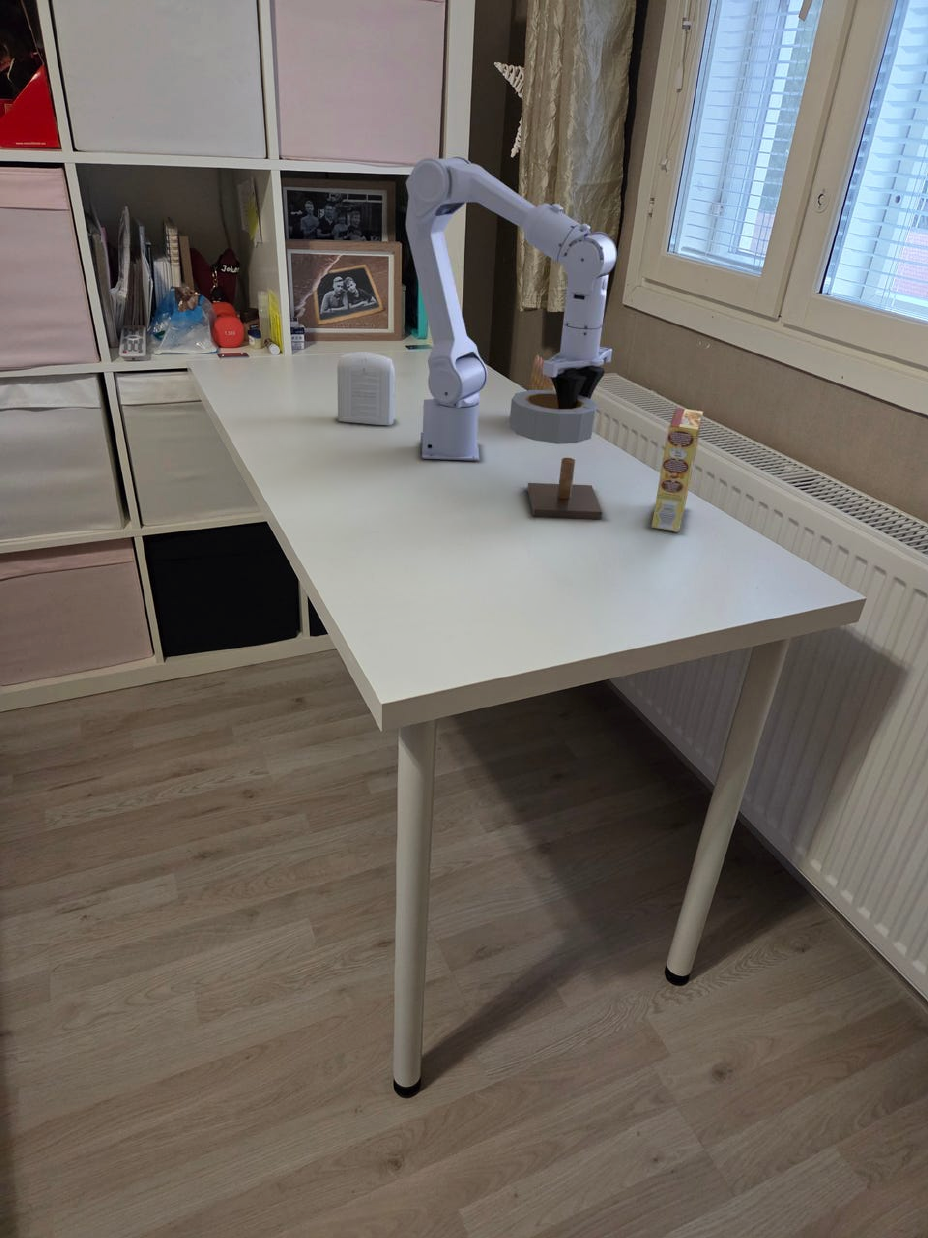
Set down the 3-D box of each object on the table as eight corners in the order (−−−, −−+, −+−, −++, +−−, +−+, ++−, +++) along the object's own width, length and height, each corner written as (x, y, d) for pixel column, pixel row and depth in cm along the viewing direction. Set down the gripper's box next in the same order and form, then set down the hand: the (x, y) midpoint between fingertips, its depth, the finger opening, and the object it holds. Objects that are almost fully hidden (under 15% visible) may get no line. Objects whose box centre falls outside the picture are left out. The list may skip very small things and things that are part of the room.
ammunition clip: (552, 434, 154) (560, 368, 148) (543, 435, 154) (550, 368, 147) (534, 416, 163) (540, 352, 157) (525, 416, 162) (531, 352, 156)
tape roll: (512, 441, 122) (515, 411, 120) (505, 415, 133) (508, 387, 131) (599, 446, 123) (604, 416, 121) (586, 419, 134) (590, 392, 132)
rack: (533, 516, 123) (538, 471, 119) (527, 489, 132) (531, 446, 128) (601, 519, 124) (608, 474, 120) (590, 492, 132) (596, 449, 128)
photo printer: (395, 419, 157) (396, 351, 150) (392, 427, 153) (393, 358, 147) (340, 415, 157) (338, 347, 151) (336, 423, 153) (334, 353, 147)
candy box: (679, 533, 121) (700, 429, 113) (649, 528, 122) (668, 424, 114) (684, 510, 128) (705, 410, 120) (656, 505, 129) (674, 406, 121)
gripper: (574, 336, 117) (563, 432, 124) (633, 323, 126) (619, 412, 133) (535, 326, 121) (526, 419, 128) (594, 314, 130) (583, 401, 137)
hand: (571, 415), depth 131 cm, fingers closed on tape roll, 2 cm apart
